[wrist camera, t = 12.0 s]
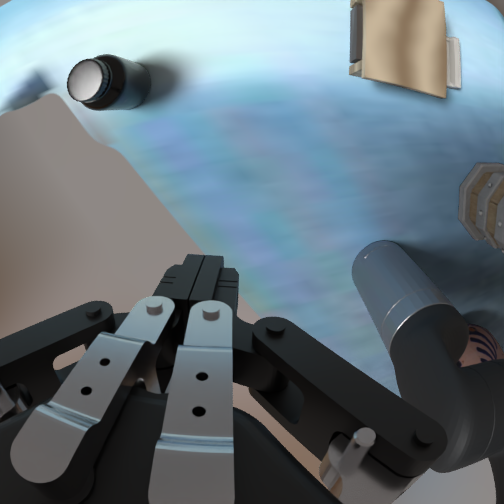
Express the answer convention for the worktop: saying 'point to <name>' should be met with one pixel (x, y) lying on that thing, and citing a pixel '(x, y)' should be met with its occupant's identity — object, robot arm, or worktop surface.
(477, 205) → the tankard
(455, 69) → the white pull-out drawer
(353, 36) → the small wooden table
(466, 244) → the worktop surface
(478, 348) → the ceramic pitcher
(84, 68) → the supplement bottle
